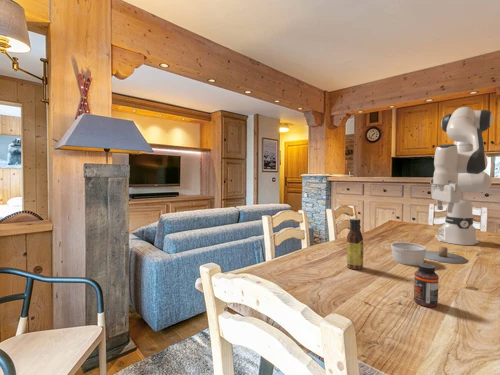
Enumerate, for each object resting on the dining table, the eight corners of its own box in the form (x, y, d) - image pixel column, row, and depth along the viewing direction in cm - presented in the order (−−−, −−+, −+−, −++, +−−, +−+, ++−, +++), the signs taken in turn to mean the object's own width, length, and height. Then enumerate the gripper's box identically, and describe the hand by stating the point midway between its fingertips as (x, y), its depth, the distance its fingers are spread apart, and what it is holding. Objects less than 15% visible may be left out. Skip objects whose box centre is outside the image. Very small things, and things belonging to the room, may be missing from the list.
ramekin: (413, 268, 109) (413, 251, 109) (383, 259, 121) (384, 244, 121) (432, 263, 116) (432, 247, 115) (402, 255, 127) (403, 240, 127)
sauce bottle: (364, 270, 107) (365, 220, 106) (347, 269, 108) (348, 220, 107) (361, 265, 113) (362, 218, 112) (345, 264, 115) (346, 217, 114)
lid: (415, 252, 134) (416, 242, 134) (455, 254, 130) (456, 244, 129) (428, 262, 118) (428, 251, 117) (475, 266, 113) (475, 254, 113)
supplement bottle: (409, 298, 83) (410, 262, 82) (427, 298, 83) (428, 261, 83) (423, 308, 77) (424, 269, 76) (442, 307, 77) (444, 268, 77)
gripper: (465, 181, 111) (464, 214, 112) (443, 180, 131) (442, 208, 131) (447, 181, 113) (446, 214, 113) (428, 180, 132) (428, 208, 133)
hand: (444, 211), depth 123 cm, fingers open, 8 cm apart
